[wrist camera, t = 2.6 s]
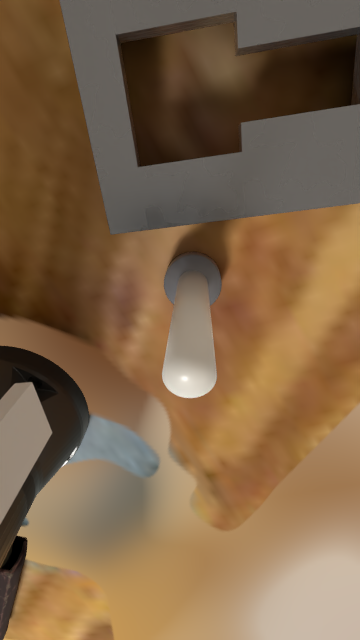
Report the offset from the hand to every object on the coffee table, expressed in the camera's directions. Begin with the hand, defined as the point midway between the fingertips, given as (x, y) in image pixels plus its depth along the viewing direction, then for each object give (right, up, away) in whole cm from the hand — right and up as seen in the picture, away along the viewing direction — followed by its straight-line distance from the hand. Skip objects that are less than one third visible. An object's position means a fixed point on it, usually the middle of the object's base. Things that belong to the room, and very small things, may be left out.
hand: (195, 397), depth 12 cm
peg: (+1, +7, +14) cm, 15 cm away
